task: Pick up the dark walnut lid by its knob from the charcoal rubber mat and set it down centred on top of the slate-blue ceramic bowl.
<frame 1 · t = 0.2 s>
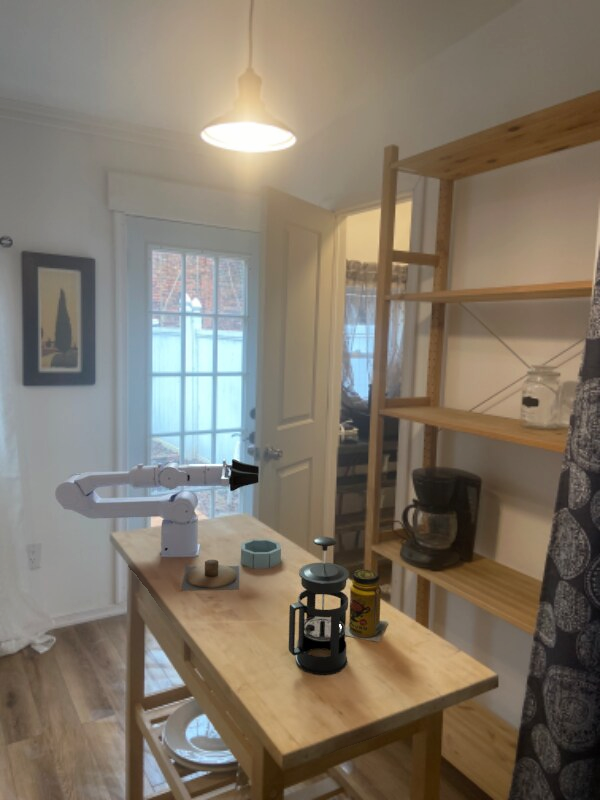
hand: (258, 474, 157), 21 cm above the table, tool horizontal, fingers open, 7 cm apart
bowl: (260, 561, 153), on the table
french press: (318, 662, 109), on the table
condiment: (365, 630, 121), on the table
lid: (211, 577, 142), resting on mat
mat: (211, 578, 142), on the table
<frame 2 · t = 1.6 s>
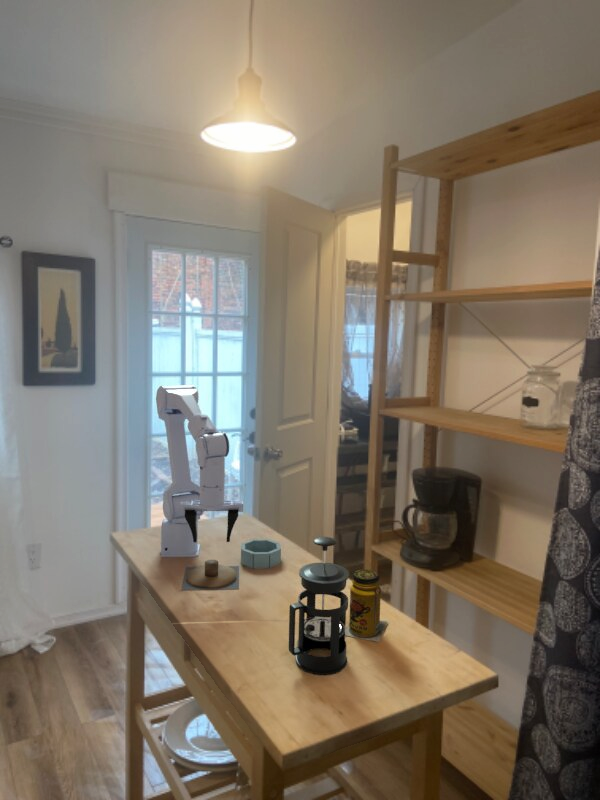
hand: (211, 540, 141), 9 cm above the table, tool pointing down, fingers open, 7 cm apart
nothing on the table moved.
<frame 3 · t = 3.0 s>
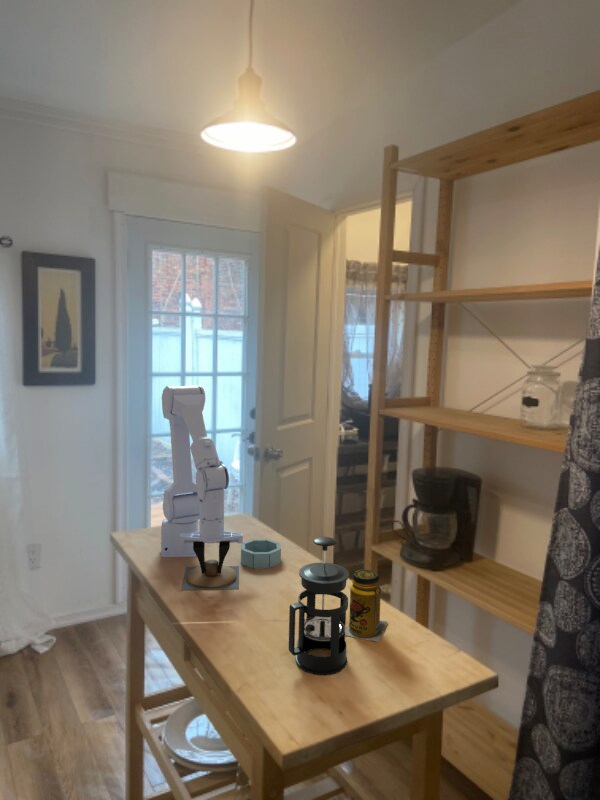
hand: (211, 571, 142), 2 cm above the table, tool pointing down, fingers closed on lid, 3 cm apart
lid: (211, 577, 142), resting on mat, touching gripper
everything else where it was.
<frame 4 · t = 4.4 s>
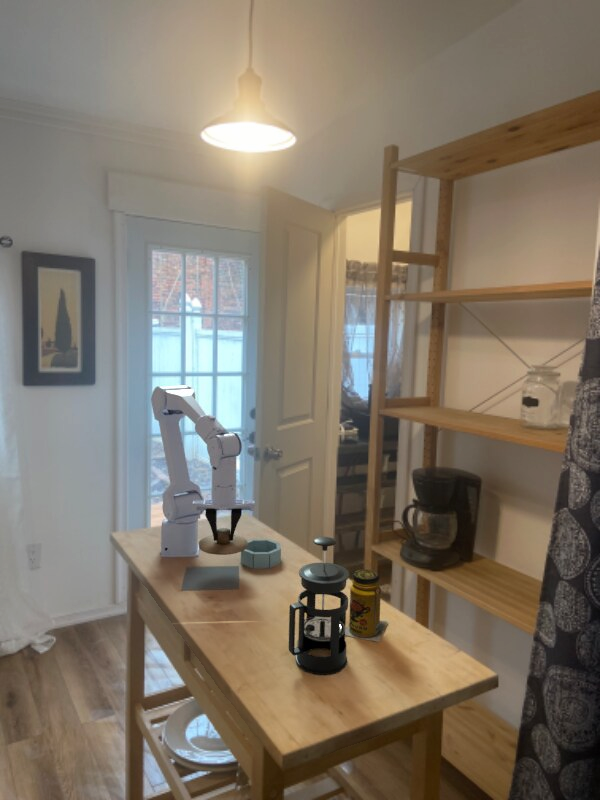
hand: (223, 539, 144), 9 cm above the table, tool pointing down, fingers closed on lid, 3 cm apart
lid: (223, 545, 144), point 7 cm above the table, touching gripper
everything else where it was.
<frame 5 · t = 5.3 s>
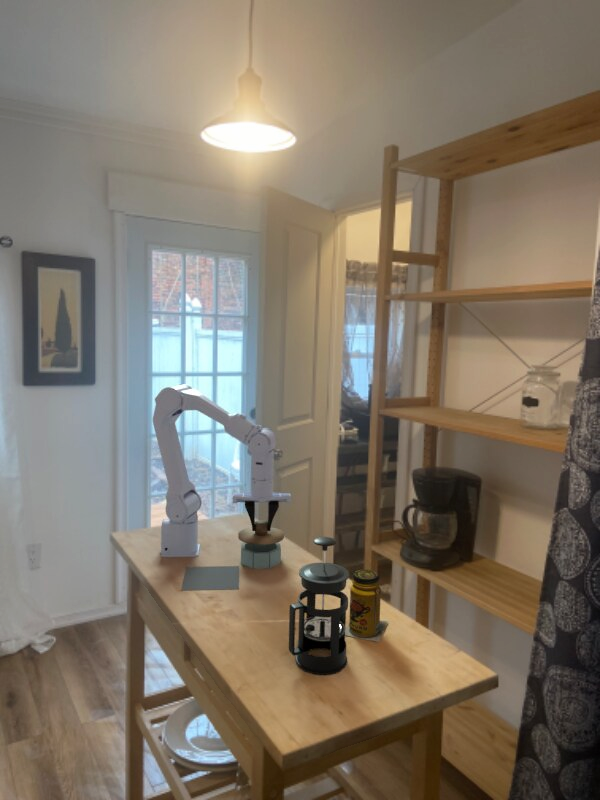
hand: (261, 529, 152), 8 cm above the table, tool pointing down, fingers closed on lid, 3 cm apart
lid: (261, 536, 152), point 7 cm above the table, touching gripper
everything else where it was.
when the fingers open (6 cm above the table, at t = 6.0 s): lid stays where it is, resting on bowl.
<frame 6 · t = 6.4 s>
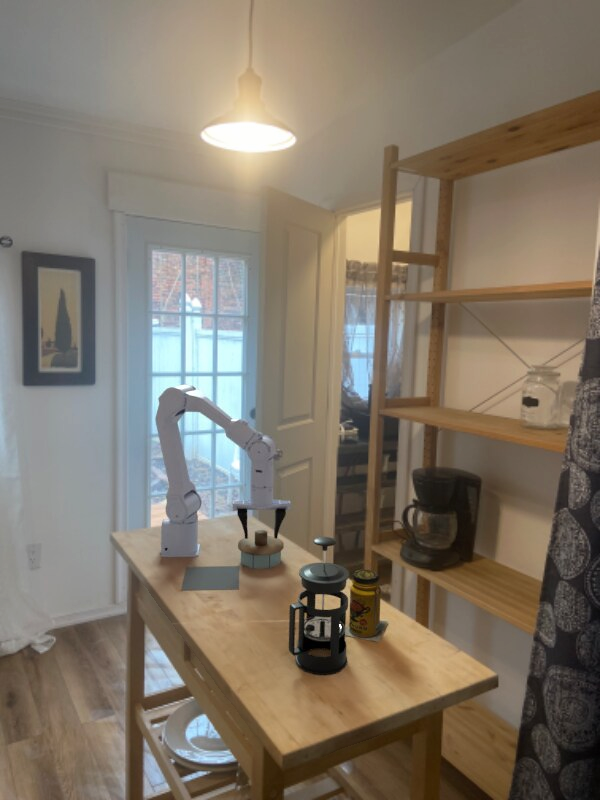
hand: (261, 537, 152), 6 cm above the table, tool pointing down, fingers open, 7 cm apart
bowl: (260, 561, 153), on the table, touching lid
lid: (260, 546, 152), point 4 cm above the table, touching bowl
everything else where it was.
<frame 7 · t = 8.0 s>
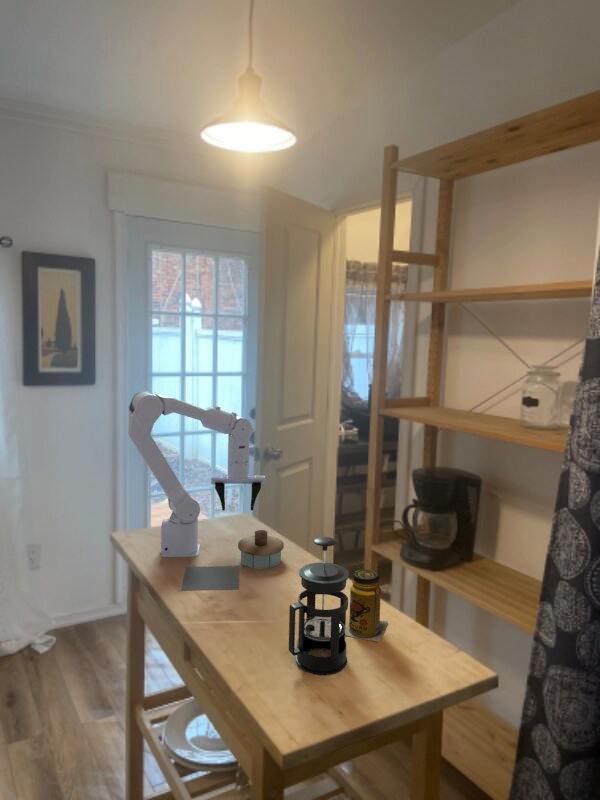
hand: (237, 509, 163), 10 cm above the table, tool pointing down, fingers open, 7 cm apart
nothing on the table moved.
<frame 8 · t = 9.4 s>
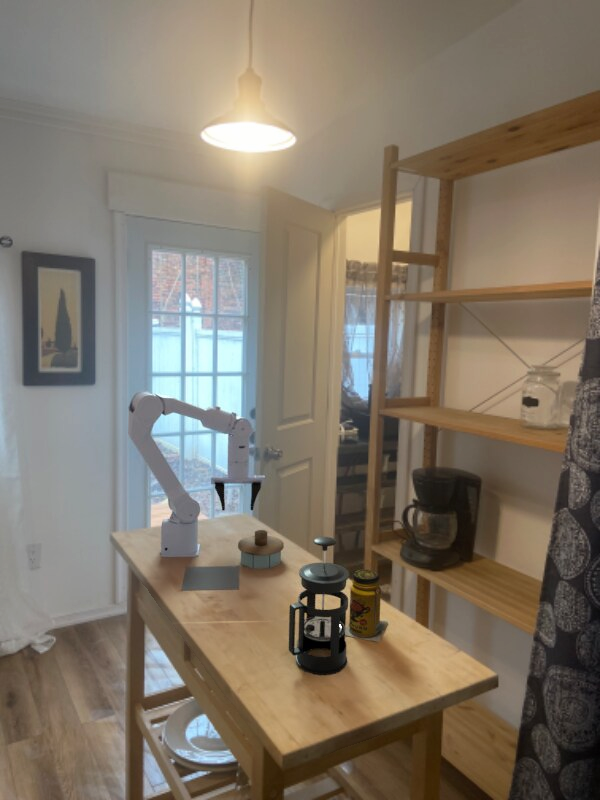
hand: (237, 509, 163), 10 cm above the table, tool pointing down, fingers open, 7 cm apart
nothing on the table moved.
at the end: lid 0.2 cm off-centre on the bowl, point 4.0 cm above the bowl's base; lid tilted 0°; the gripper is holding nothing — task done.
